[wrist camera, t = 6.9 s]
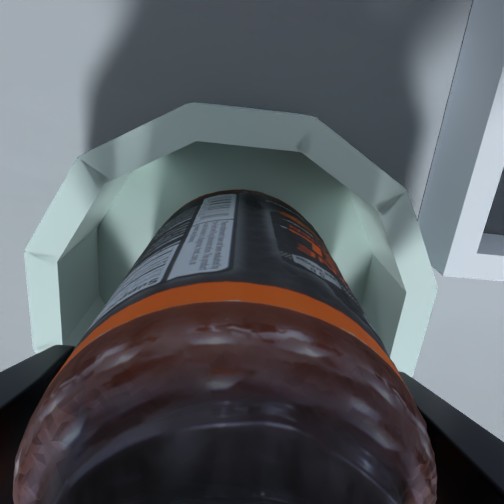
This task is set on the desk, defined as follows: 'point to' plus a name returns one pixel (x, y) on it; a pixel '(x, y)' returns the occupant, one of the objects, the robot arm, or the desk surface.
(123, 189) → the bowl
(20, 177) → the desk surface
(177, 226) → the supplement bottle
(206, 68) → the desk surface
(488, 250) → the tray
